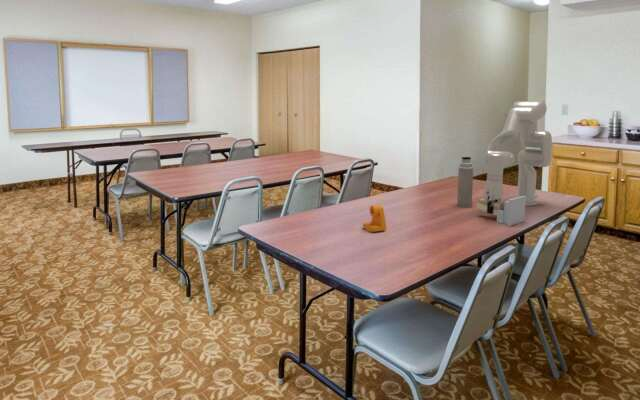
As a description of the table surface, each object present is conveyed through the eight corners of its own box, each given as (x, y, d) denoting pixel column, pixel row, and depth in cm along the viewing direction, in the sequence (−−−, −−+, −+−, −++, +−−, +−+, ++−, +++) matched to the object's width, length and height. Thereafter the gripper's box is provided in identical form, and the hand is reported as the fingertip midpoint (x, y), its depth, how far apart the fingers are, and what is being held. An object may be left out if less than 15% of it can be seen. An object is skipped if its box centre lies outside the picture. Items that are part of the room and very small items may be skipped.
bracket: (362, 228, 245) (362, 204, 242) (375, 226, 247) (375, 202, 245) (372, 233, 235) (373, 208, 232) (386, 231, 238) (386, 207, 235)
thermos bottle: (470, 204, 289) (473, 156, 283) (472, 207, 281) (474, 158, 275) (456, 204, 291) (458, 156, 285) (457, 207, 283) (459, 158, 277)
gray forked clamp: (494, 222, 249) (495, 197, 246) (509, 218, 257) (510, 193, 254) (509, 226, 243) (511, 199, 240) (524, 221, 251) (525, 196, 248)
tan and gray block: (481, 209, 264) (482, 198, 263) (510, 215, 252) (510, 203, 250) (476, 211, 262) (477, 199, 260) (504, 217, 249) (505, 204, 248)
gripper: (497, 174, 261) (495, 208, 265) (478, 178, 251) (476, 213, 255) (510, 176, 255) (508, 211, 259) (491, 180, 245) (489, 216, 249)
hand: (492, 212), depth 257 cm, fingers closed on tan and gray block, 4 cm apart
